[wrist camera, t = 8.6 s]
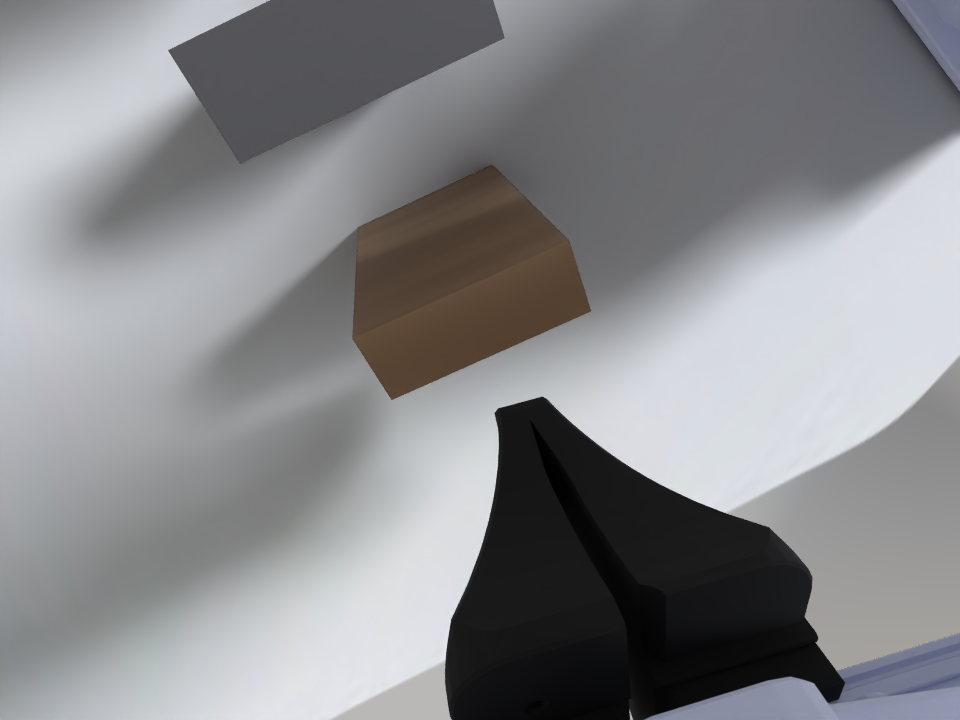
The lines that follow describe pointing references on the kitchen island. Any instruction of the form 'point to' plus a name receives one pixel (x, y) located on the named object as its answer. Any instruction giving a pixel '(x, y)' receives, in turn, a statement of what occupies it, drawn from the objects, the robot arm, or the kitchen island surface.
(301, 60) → the domino
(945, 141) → the kitchen island surface
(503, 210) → the domino
